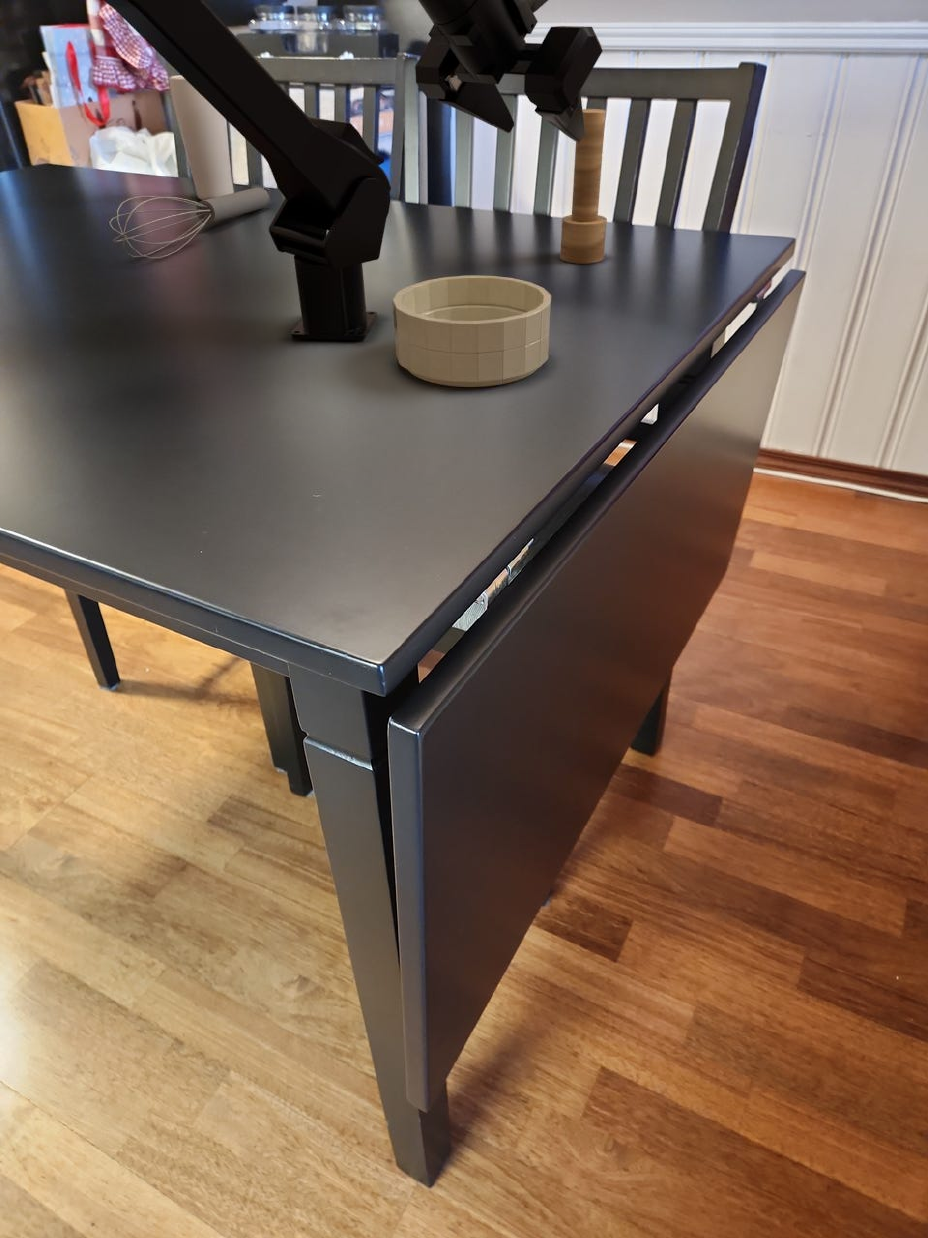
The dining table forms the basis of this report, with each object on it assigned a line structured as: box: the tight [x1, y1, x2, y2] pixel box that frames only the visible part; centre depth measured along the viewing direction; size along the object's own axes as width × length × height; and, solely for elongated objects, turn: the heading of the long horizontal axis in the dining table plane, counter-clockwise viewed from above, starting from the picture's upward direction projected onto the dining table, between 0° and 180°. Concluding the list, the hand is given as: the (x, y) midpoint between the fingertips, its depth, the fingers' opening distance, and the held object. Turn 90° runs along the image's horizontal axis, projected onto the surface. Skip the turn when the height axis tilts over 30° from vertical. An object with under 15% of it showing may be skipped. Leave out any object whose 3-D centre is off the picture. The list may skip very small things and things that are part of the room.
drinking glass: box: [168, 74, 235, 201], centre depth 116 cm, size 7×7×15 cm
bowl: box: [392, 275, 552, 388], centre depth 65 cm, size 12×12×5 cm
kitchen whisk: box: [108, 186, 271, 260], centre depth 102 cm, size 6×34×6 cm, turn 164°
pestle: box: [559, 108, 608, 265], centre depth 87 cm, size 5×5×14 cm
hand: (544, 132), depth 80 cm, fingers open, 9 cm apart
